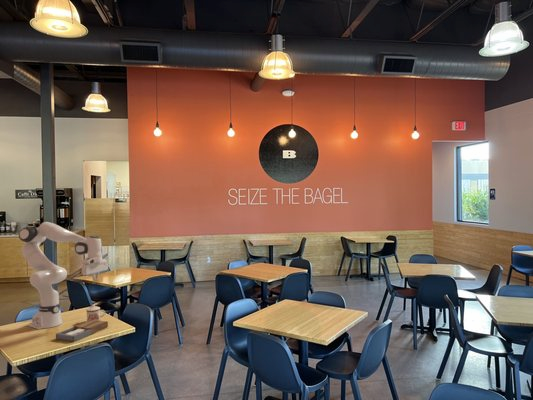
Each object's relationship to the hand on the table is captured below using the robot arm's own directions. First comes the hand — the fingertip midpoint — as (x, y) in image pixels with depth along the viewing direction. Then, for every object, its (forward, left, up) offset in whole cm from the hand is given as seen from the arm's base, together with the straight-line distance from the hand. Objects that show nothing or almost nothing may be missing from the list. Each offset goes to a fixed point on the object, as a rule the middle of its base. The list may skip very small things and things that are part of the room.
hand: (95, 279), depth 258 cm
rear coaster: (+7, -21, -30) cm, 38 cm away
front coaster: (+6, -26, -28) cm, 39 cm away
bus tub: (+6, -24, -31) cm, 40 cm away
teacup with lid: (-5, +4, -31) cm, 32 cm away
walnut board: (+6, -11, -31) cm, 34 cm away
